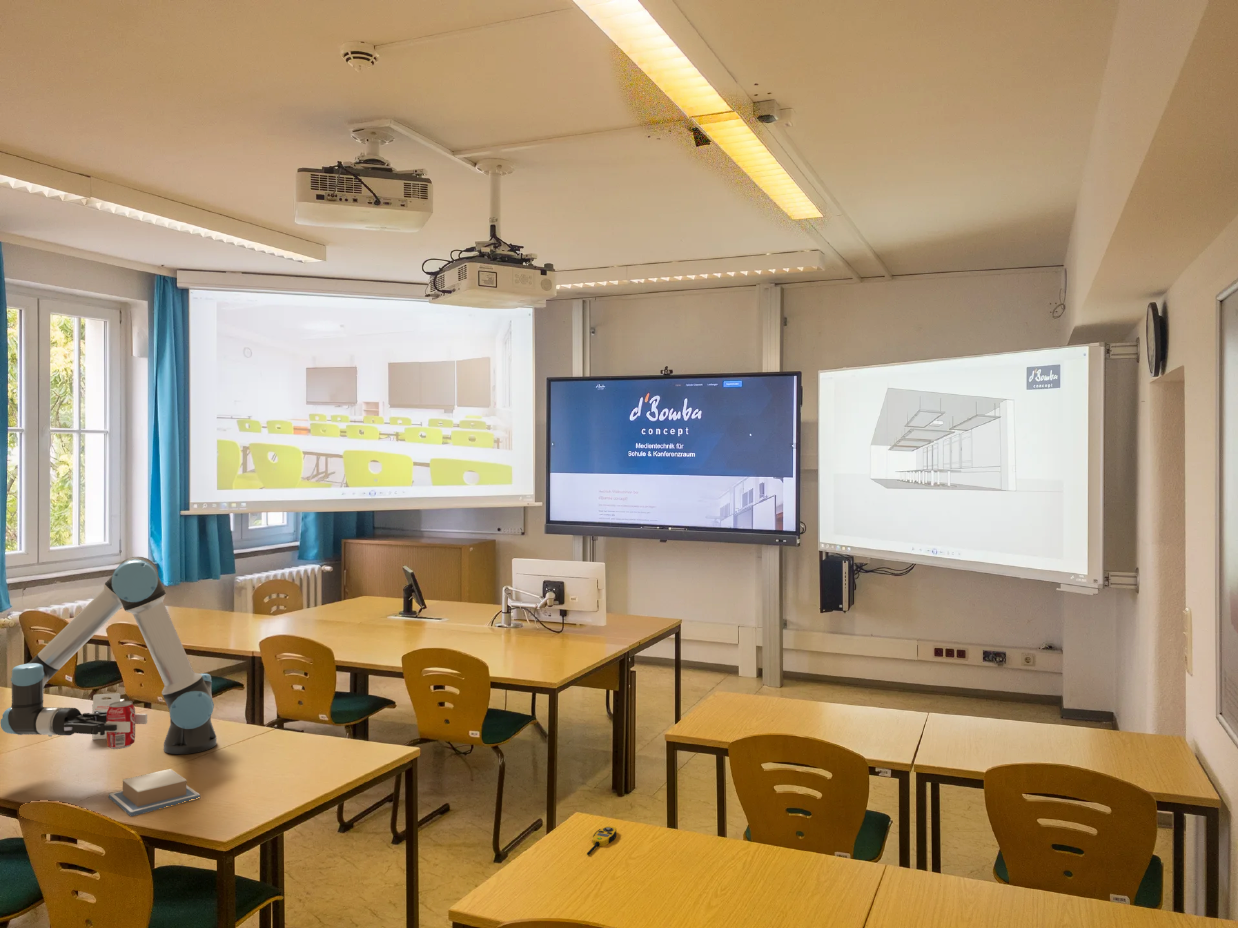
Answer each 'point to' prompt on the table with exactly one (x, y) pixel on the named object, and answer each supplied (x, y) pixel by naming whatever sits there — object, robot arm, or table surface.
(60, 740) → the table surface
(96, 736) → the ink cartridge box
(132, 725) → the soda can
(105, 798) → the table surface
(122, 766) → the table surface
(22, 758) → the table surface
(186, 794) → the board
